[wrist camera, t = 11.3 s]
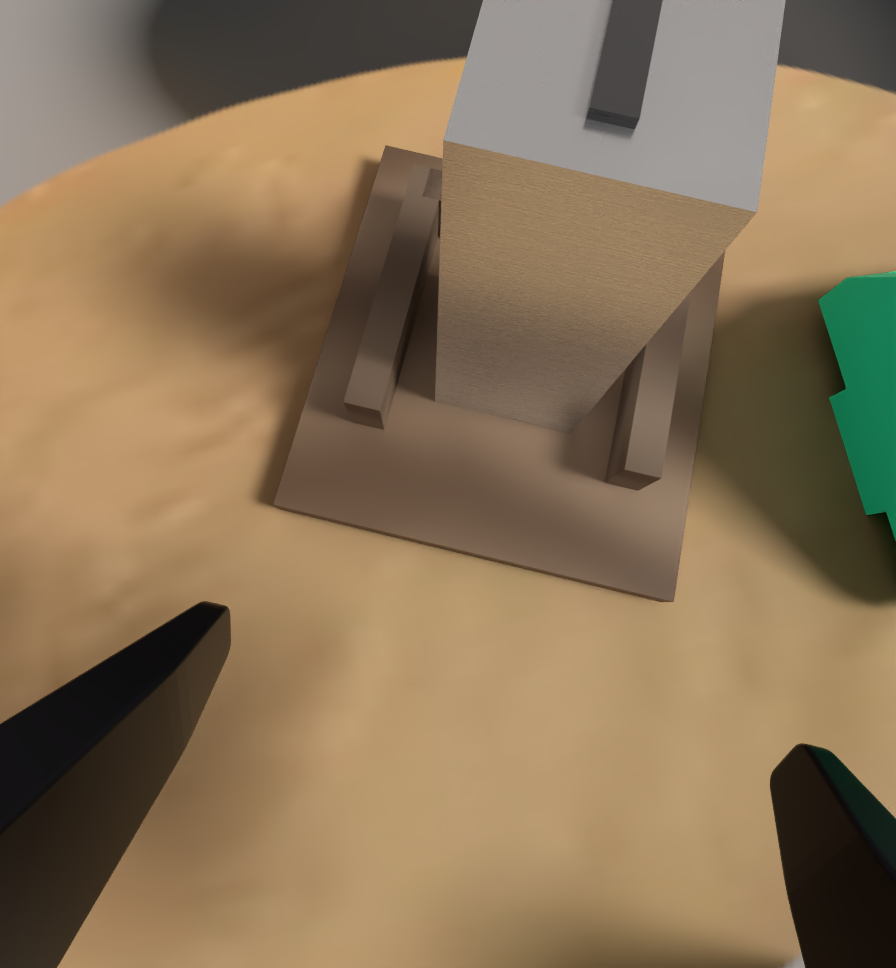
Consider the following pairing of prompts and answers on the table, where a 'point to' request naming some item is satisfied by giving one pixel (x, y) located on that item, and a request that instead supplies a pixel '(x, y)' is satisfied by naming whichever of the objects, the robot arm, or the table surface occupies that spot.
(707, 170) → the block
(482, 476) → the cradle
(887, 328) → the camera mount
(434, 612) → the table surface
